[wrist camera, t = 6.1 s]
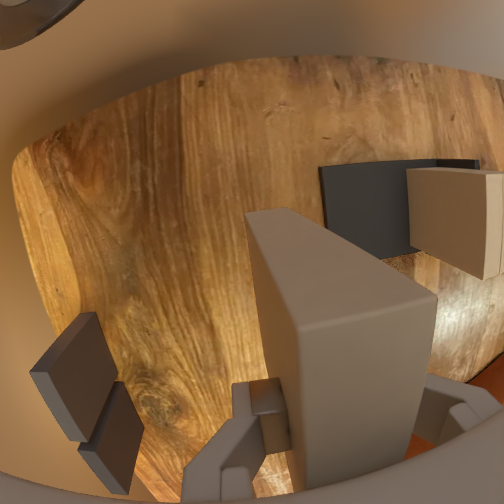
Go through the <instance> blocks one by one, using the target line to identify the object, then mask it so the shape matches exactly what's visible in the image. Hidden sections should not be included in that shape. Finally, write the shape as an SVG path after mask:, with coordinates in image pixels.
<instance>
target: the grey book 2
mask: <svg viewBox="0 0 504 504" xmlns="http://www.w3.org/2000/svg"><path fill="white" fill-rule="evenodd" d="M143 431H144V426H143V424H142V422H141V420H140V418H139V416H138V414H137V412H136V410H135V408H134V405H133V403H132V401H131V399H130V397H129V395H128V393H127V390H126V388H125V386H124V384H123V382H114V383H113V385H112V388H111V390H110V392H109V394H108V397H107V399H106V401H105V403H104V406H103V408H102V410H101V412H100V415H99V417H98V419H97V422H96V424H95V427H94V429H93V431H92V434H91V436H90V439H89V441H88V442H81V443H80V445H79V447H78V450H77V451H78V452H79V453H80V455H81V456H82V458H83V459H84V460H85V461H86V463H87V464H88V465H89V467H90V468H91V469H92V471H93V472H94V473H95V474H96V476H97V477H98V478H99V479H100V480H101V482H102V483H103V484H104V485H105V486H106V488H107V489H108V490H109V491H110V492H111V493H112V494H121V495H129V490H130V485H131V481H132V476H133V472H134V468H135V464H136V459H137V455H138V451H139V447H140V443H141V439H142V435H143Z"/></svg>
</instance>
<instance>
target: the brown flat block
mask: <svg viewBox="0 0 504 504" xmlns="http://www.w3.org/2000/svg"><path fill="white" fill-rule="evenodd" d="M244 219H245V226H246V233H247V240H248V247H249V255H250V262H251V269H252V276H253V283H254V290H255V297H256V304H257V311H258V318H259V325H260V332H261V339H262V346H263V353H264V358H265V363H266V368H267V372H268V377H269V378H275V377H279V379H280V382H281V386H282V392H283V394H284V397H285V401H286V405H287V409H288V417H289V427H290V428H289V432H290V437H291V448H292V450H289V451H285V454H286V459H287V463H288V468H289V472H290V477H291V481H292V486H293V490H294V492H299V491H304V490H309V489H314V488H318V487H322V486H326V485H330V484H334V483H338V482H342V481H345V480H349V479H352V478H356V477H359V476H362V475H366V474H369V473H372V472H375V471H378V470H380V469H383V468H386V467H389V466H392V465H394V464H397V463H400V462H402V461H403V460H404V457H405V454H406V451H407V448H408V445H409V442H410V439H411V435H412V432H413V429H414V425H415V422H416V418H417V414H418V410H419V407H420V402H421V398H422V394H423V390H424V385H425V381H426V376H427V371H428V366H429V360H430V355H431V349H432V342H433V336H434V329H435V321H436V313H437V303H438V298H437V295H436V294H434V293H433V292H431V291H430V290H428V289H426V288H425V287H423V286H422V285H420V284H419V283H417V282H415V281H414V280H412V279H411V278H409V277H407V276H406V275H404V274H402V273H401V272H399V271H398V270H396V269H394V268H393V267H391V266H389V265H388V264H386V263H384V262H383V261H381V260H379V259H378V258H376V257H374V256H373V255H371V254H369V253H368V252H366V251H364V250H362V249H361V248H359V247H357V246H356V245H354V244H352V243H350V242H349V241H347V240H345V239H343V238H342V237H340V236H338V235H336V234H335V233H333V232H331V231H329V230H328V229H326V228H324V227H322V226H321V225H319V224H317V223H315V222H313V221H312V220H310V219H308V218H306V217H304V216H302V215H301V214H299V213H297V212H295V211H293V210H291V209H289V208H288V207H283V208H276V209H268V210H261V211H254V212H247V213H244Z"/></svg>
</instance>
